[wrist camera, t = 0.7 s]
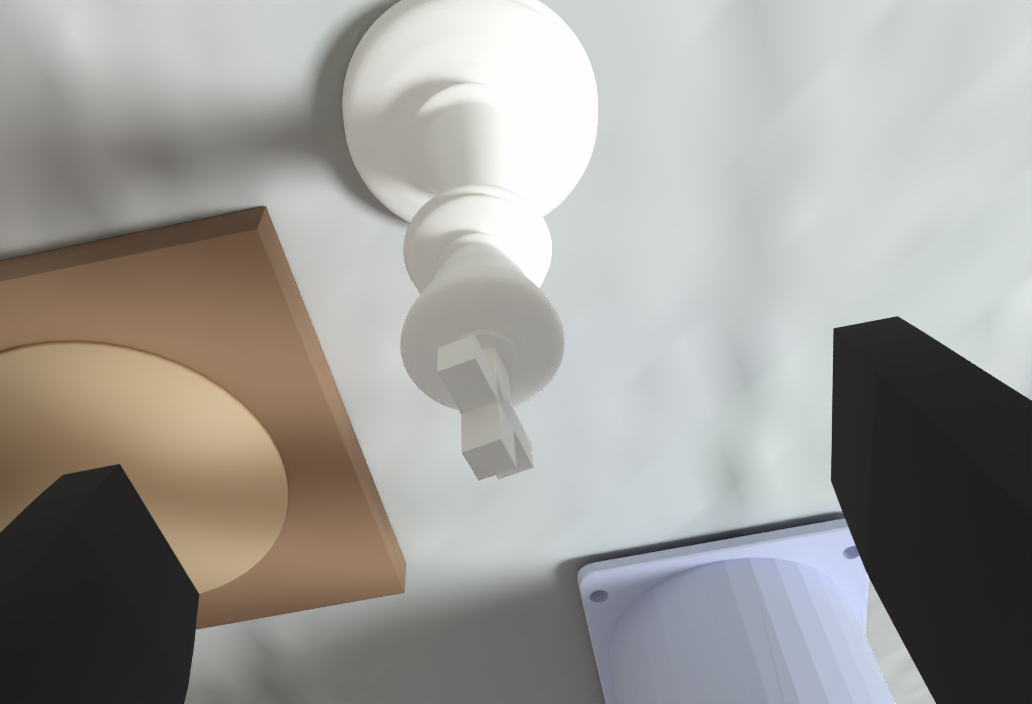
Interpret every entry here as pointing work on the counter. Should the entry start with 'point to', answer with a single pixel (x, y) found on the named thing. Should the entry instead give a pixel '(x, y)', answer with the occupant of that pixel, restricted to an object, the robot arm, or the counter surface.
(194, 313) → the pedestal
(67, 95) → the counter surface
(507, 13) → the chess piece
